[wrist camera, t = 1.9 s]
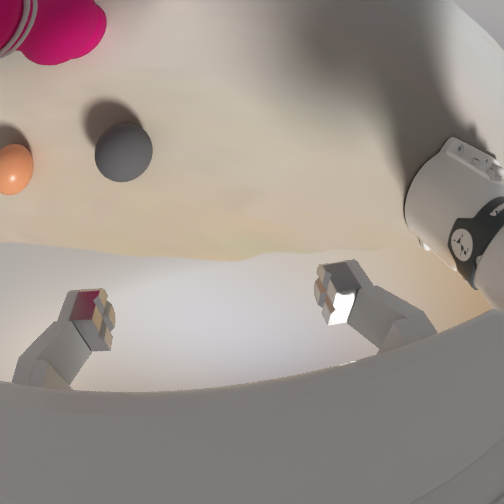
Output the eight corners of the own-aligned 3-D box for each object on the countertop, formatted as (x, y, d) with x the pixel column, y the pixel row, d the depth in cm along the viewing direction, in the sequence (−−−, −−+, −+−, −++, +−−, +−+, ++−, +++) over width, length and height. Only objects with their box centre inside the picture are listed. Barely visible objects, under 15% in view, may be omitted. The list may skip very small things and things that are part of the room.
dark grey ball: (152, 113, 24) (139, 123, 20) (161, 164, 28) (152, 185, 23) (100, 125, 24) (79, 139, 19) (112, 174, 27) (95, 197, 23)
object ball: (34, 131, 22) (7, 146, 17) (47, 175, 25) (24, 197, 21) (2, 145, 21) (-25, 163, 17) (15, 186, 25) (-9, 209, 20)
